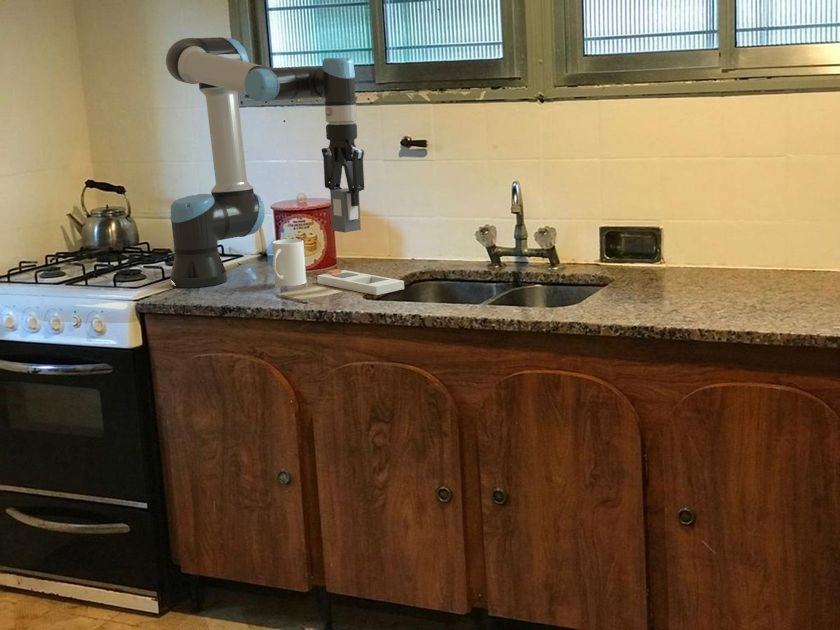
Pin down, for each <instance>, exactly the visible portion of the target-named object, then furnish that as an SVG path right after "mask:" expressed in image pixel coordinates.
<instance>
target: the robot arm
mask: <svg viewBox="0 0 840 630" xmlns="http://www.w3.org/2000/svg"><path fill="white" fill-rule="evenodd" d="M165 64H166V68H167V70H168V73H169V75H170V76H172V77H173V79H175V80H177V81H179V82H181V83H186V84H189V85H197V84H198V88H199V89H198V90H199V92H201V93H202V94H203V95H204V96H205V100H206V110H207V119H208V127H209V128H208V129H209V134H210V145H211V152H212V153H211V154H212V161H213V163H212V164H213V171H214V180H215V185H214V186H213V187H212V188H211V190H210V192H211V193H200V194H194V195H193V194H191V195H188V196H187V195H186V196H184V197H181V198H178V199H176V200H174V201H172V204H171V205H170V218H169V219H170V221H171V231H172V240H173V250H174V251H173V252H174V259H173V263H172V264H173V265H172V267H171V271H170V272H171V273H170V281H171V280H172V281H173V282H174V283H175V285H176V286H177V287H176V288H185V289H186V288H189V289H190V288H204V287H210V286H211V287H212V286H217V285H219V284H220V285H221V284H223V283H226V282H227V281H228V273H227V270H226V268H225V265H224V263H223V261H222V258H221V256H220V253H219V246H218V243H219V242H218V241H225V240H229V239H233V238H240V237H241V238H245V237H246V236H250V235H253V234H255V233H256V232H258V231H259V230H260V228H261V227H262V225H263V223H264V222H265V221H264V219H265V215H266V214H265V205H264V202H263V200H262V199H261V198H262V197H261V196H260V195H258V194H257V193H255V192H254V186H253V185H251V184H250V183H249V182H248V179H247V169H246V160H245V151H244V149H245V148H244V141H243V132H242V122H241V114H240V113H241V112H240V103H239V96H238V95H239V93H240V94H245V95H247V96H248V97H249V98H250V100H252V101H254V102H266V103H267V102H272V101H283V100H299V99H301V100H303V99H324V109H325V110H324V111H325V112H324V113H325V122H327V123H328V124H326V125H325V135H326V140H328V141H329V144H328V146H327V147H323V148H321V154H322V158H323V175H324V176H323V179H324V187H325V189H328V190H329V191H330V190H337V189H343V188H342V187H341V182H342V174H343V170H344V173H345V179H346V183H347V184H346V185H347V188H348V189H349V191H347V207H348V220H354V219H358V205H359V203H360V197H359V198H358V193H359V194H360V192H361V191H364V190H365V178H364V177H365V175H364V173H365V172H364V155H365V150H363V149H359V148H357V146H356V144H355V143H356V142H355V140H356V139H357V138H358V125H357V123H355V122H356V121H357V120H358V119H357V118H358V117H357V103H356V101H357V100H356V73H355V66H354V61H353V59H352V58H351V57H329V58H328V57H326V58H324V59H322V65H321V66H308V65H307V66H298V67H297V66H296V67H294V66H293V67H268V66H264V65H261V64H256V63H252V62H250V60H249V56H248V53H247V51H246V48H245V47H244V46H243V45H242V44H241V43H240V41H238V40H237V39H234V38H230V37H184V38H181V39H179V40H177V41H176V42H174V43H173V44H172V45H171V46H170V47H169V49H168V50H167V53H166V57H165ZM343 168H344V169H343Z"/></svg>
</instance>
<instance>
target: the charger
mask: <svg viewBox="0 0 840 630" xmlns="http://www.w3.org/2000/svg"><path fill="white" fill-rule="evenodd" d="M347 191H349V189H348V187H345V188H342V189H337V190H330V189H329V193H330V209H331V210H330V211H331V230H332V231H333V232H338V233H339V232H340V233H350V232H355V231H357V232H358V231H361V230H362V228H361V209H360V208H361V207H360V205H361V204H360V202H359V205H358V219H354V220H348V207H347ZM358 198H359V199H360V192H359V193H358Z"/></svg>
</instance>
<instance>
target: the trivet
mask: <svg viewBox="0 0 840 630" xmlns="http://www.w3.org/2000/svg"><path fill="white" fill-rule="evenodd" d="M343 292H344V291H342V290H338V289H333V288H328V287H323V286H319V285H318V286H317V285H311V286H307V287H302V288H296V289H292V290H286V291H282V292H277V293H276V295H275V298H276V299H282V300H285V301H289V302H294V303H298V304H302V305H303V304H304V305H305V304H309V302H308V300H311V299H316V298H321V297H324V296H325V297H326V296H331V295H334V294H339V293H343Z"/></svg>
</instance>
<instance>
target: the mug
mask: <svg viewBox="0 0 840 630" xmlns="http://www.w3.org/2000/svg"><path fill="white" fill-rule="evenodd" d="M271 244H272V255H273V259H272V270H273V273H274V282H275V283H274V288H275V289H278V288H283V287H293V286H294V287H295V286H301V285H303V284H306V283H307V282H308V281H307V275H306V261H305V259H306V258H305V247H304V246H305V245H304V240H303V239H300V238H286V239H277V240H274V241H272V243H271Z"/></svg>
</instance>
